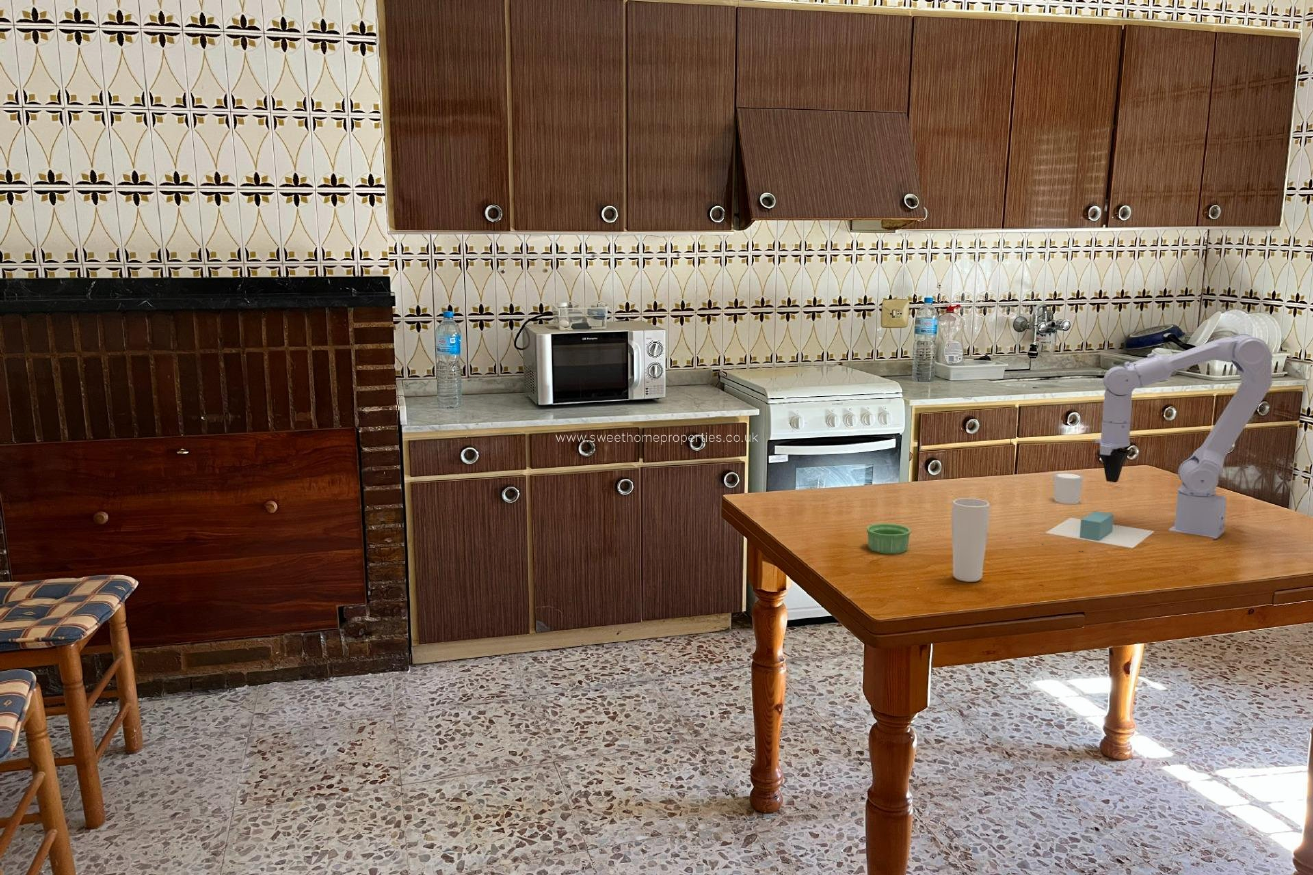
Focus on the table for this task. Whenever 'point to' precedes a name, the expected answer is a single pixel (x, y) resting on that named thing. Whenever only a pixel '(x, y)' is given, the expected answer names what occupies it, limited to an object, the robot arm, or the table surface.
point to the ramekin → (888, 538)
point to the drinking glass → (969, 537)
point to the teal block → (1096, 525)
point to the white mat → (1116, 537)
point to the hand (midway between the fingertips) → (1112, 481)
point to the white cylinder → (1067, 488)
